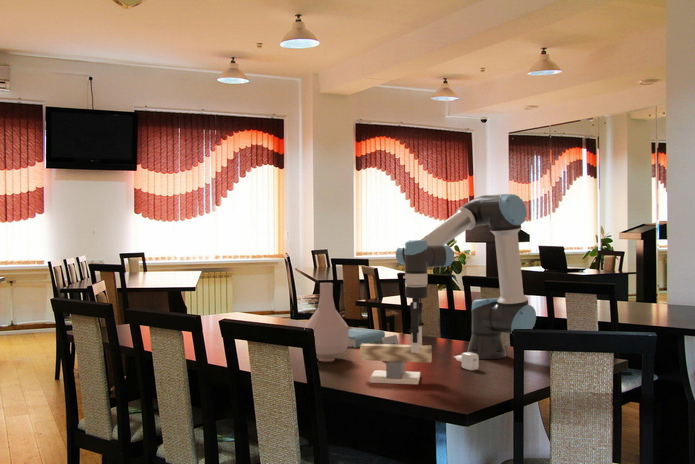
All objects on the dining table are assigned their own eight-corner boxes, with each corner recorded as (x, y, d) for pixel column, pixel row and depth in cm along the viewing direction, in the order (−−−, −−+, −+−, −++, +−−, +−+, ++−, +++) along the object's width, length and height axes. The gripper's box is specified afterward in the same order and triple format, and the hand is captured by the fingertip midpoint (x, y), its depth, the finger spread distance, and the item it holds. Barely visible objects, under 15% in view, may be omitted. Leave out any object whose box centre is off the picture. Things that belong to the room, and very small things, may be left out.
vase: (358, 359, 253) (358, 283, 253) (326, 366, 240) (326, 286, 240) (326, 353, 265) (326, 280, 265) (294, 360, 252) (294, 283, 252)
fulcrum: (420, 376, 224) (420, 357, 224) (418, 384, 212) (418, 364, 212) (374, 374, 227) (374, 356, 227) (369, 382, 215) (369, 363, 215)
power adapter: (450, 365, 241) (450, 350, 241) (461, 364, 244) (461, 348, 244) (469, 371, 232) (469, 355, 232) (480, 370, 234) (480, 353, 234)
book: (356, 338, 305) (356, 327, 305) (384, 341, 296) (384, 330, 296) (327, 345, 287) (326, 334, 287) (356, 349, 278) (356, 337, 278)
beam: (431, 360, 219) (431, 345, 219) (431, 362, 215) (430, 347, 215) (361, 357, 223) (361, 343, 223) (360, 360, 219) (359, 345, 219)
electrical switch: (388, 362, 248) (386, 337, 249) (377, 361, 251) (375, 337, 252) (402, 358, 255) (400, 334, 256) (391, 358, 259) (389, 334, 259)
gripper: (408, 282, 231) (408, 341, 231) (401, 289, 206) (402, 355, 207) (429, 282, 230) (429, 342, 230) (425, 289, 205) (425, 356, 205)
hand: (416, 348), depth 218 cm, fingers open, 13 cm apart
